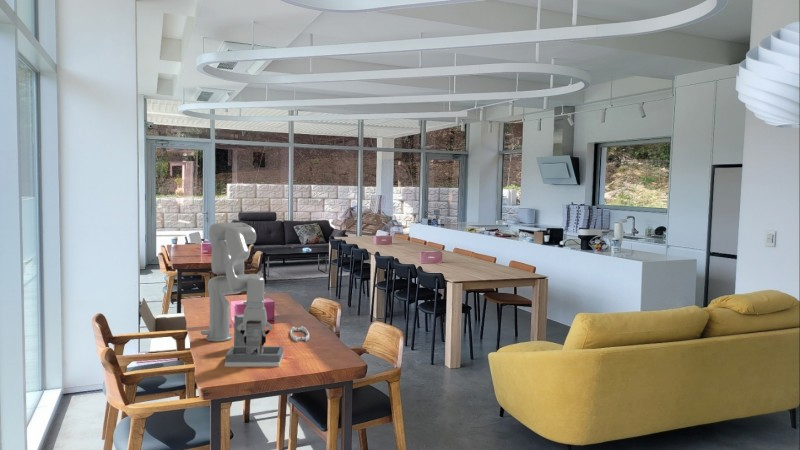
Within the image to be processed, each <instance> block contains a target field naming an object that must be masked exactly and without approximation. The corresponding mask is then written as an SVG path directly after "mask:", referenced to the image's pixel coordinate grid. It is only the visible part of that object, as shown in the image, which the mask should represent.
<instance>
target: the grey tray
mask: <svg viewBox="0 0 800 450" xmlns="http://www.w3.org/2000/svg"><path fill="white" fill-rule="evenodd" d="M283 357H284V346H281V345H279V346H278V345H277V346H276V345H275V346H272V345H271V346H268V345H267V346H266V345H263V353H262V354H260V355H246V346H234V345H233V346H231V347H230V348H229V350H228V351H227V352H226V354H225V356H224V358H225V360H224V361H225V362H224V367H226V368H227V367H231V368H232V367H237V368H238V367H242V368H243V367H244V368H245V367H280V365H281V362H282V359H283Z"/></svg>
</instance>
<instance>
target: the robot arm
mask: <svg viewBox="0 0 800 450" xmlns="http://www.w3.org/2000/svg"><path fill="white" fill-rule="evenodd" d="M208 236H209V241H210V244H211V261H210V263H211V271H212V273H213V274H215V275H219V276H213V277H211V278H210V279H209V280H208V282H207V292H208V296H209V297H208V298H209V329H207V330H205V329H201V331H200V334H201V335H202V336H205V338H206V340H207V342H208V341H209V342H218V343H219V342H227V341H230V340H232V339H233V334H231V333H230V302H229V300H228V299H227V298H226V297H225V296H228V295H236V294H241V293H242V292H246V301H243V303H242V304H243V306H246V307H244V310H243V314H244V316H243V322H242V323H241V324H240V325H239V326H238V327H237V329H238V330H239V331H240V332H241V333H242V334H243V336H244V343H245V345H246V333H247V321H261V322H262V330H261V331H262V334H263V336H262V345H263V346H265V344H266V342H267V339H266V337H267V335H268V334H269V333H270V332H272V330H273V329H274V326H273V325H272V324H271V323H270V322H269V321H268V317H267V316H268V314H267V307H265V278H264V277H262V276H260V275H259V274H257V273H245V262H246V260H248V259H249V257H250V255H251V253H250V251H249V247H248V245H253V244H255V243H256V241H257V233H256V230H255V229H254V228H253V227H252V226H251V225H250V224H249V225H248V224H247V223H245V222H241V221H240V222H217V223H213V224H211V225H210V226H209V230H208ZM242 326H243V329H242V328H241V327H242ZM267 327H268V329H267Z"/></svg>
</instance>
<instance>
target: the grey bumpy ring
mask: <svg viewBox="0 0 800 450" xmlns="http://www.w3.org/2000/svg"><path fill="white" fill-rule="evenodd" d="M293 332H303V333H305V334H306V335H305V336H299V337H298V336H297V335H294V334H293ZM289 336H290V338H291V339H292V340H293V342H296V343H299V342H301V341H305V343H306V342H309V340H310V332H309V331H308V329H307V328H306V327H305V326H302V325H300V327H295V326H292V327H291V328H290V330H289Z"/></svg>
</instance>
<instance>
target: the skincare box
mask: <svg viewBox="0 0 800 450" xmlns="http://www.w3.org/2000/svg"><path fill="white" fill-rule="evenodd" d="M243 316H244V313H242V314H234V324H233V325H234V327H233V330H234V332H233V335H234V336H233V346H246V345H245V343H244V336H243V334H242V333H241V332H240V331H239V330H238V329H237V327H238V326H239V325H240V324H241V323H242V322H243ZM241 328H242V329H243V326H242V327H241Z"/></svg>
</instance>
